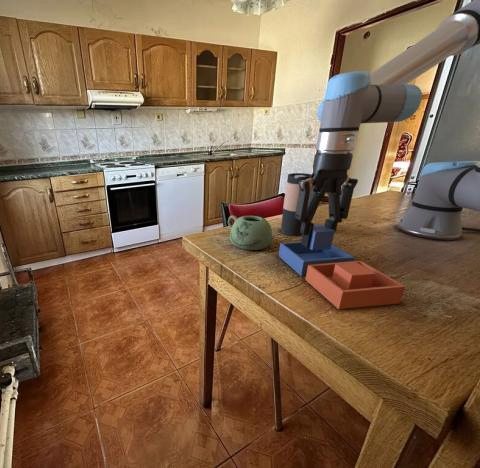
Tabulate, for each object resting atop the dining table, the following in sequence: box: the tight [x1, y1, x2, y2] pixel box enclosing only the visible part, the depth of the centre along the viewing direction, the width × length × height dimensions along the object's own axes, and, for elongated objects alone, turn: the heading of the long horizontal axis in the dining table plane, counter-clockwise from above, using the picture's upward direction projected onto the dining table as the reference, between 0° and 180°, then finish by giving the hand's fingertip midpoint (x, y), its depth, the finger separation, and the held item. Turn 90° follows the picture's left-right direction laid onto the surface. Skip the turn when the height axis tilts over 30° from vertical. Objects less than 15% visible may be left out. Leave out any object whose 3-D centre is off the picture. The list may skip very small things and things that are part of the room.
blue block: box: [309, 223, 336, 250], centre depth 66 cm, size 5×5×5 cm
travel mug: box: [280, 172, 313, 237], centre depth 87 cm, size 8×8×20 cm
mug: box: [227, 215, 273, 251], centre depth 82 cm, size 16×13×9 cm
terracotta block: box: [332, 263, 375, 290], centre depth 56 cm, size 5×5×5 cm
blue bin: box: [278, 241, 355, 277], centre depth 68 cm, size 13×11×4 cm
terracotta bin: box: [305, 260, 406, 310], centre depth 56 cm, size 13×11×4 cm
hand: (315, 244), depth 67 cm, fingers closed on blue block, 5 cm apart
